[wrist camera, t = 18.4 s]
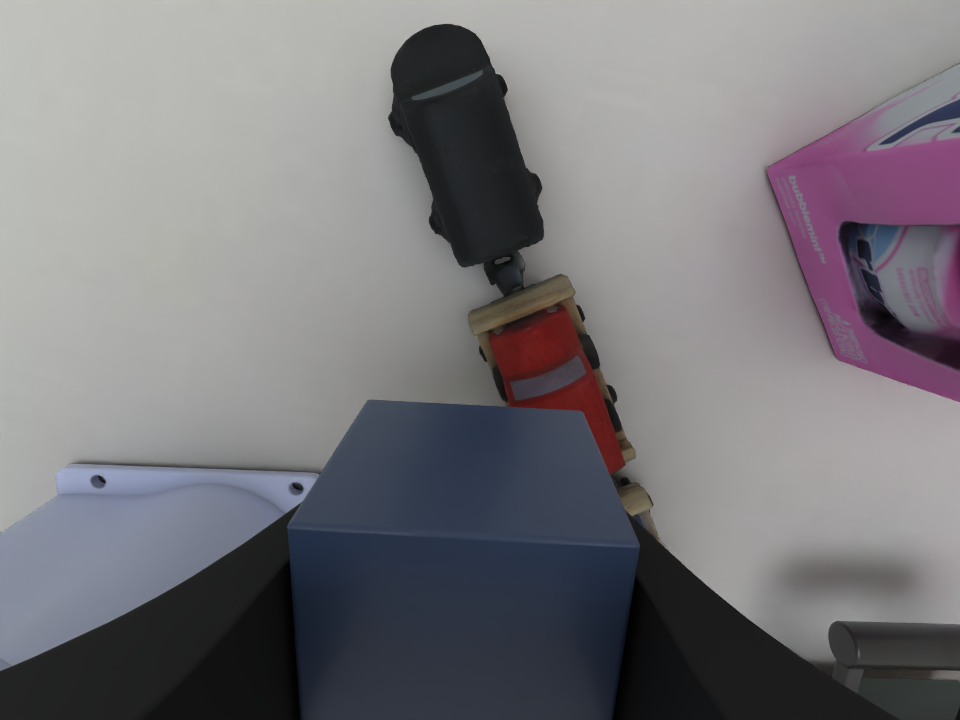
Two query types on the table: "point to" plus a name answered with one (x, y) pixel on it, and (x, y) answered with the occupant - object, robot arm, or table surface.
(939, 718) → the drawer
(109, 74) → the table surface
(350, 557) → the block
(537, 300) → the toy train
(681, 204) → the table surface
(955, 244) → the gum box
